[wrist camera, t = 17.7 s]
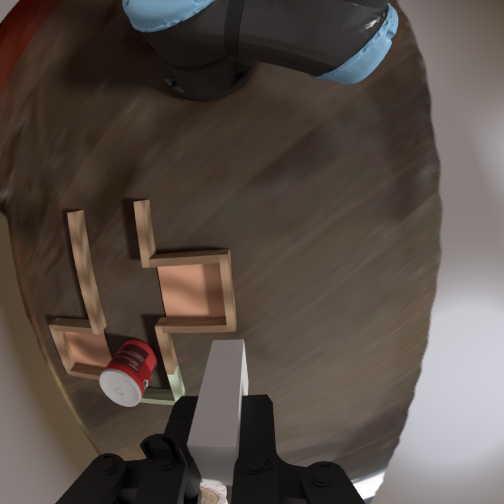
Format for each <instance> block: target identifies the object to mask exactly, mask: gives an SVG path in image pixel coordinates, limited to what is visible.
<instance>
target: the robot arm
mask: <svg viewBox="0 0 504 504" xmlns="http://www.w3.org/2000/svg"><path fill="white" fill-rule="evenodd" d="M388 2H389V0H122V4H123V9H124V11H125V13H126V14H127V16H128V17H129V19H130V22H131V24H132V26H133V27H134V28H135V29H136V30H137V31H138V32H139V33H140V34H141V35H142V36H143V38H144V39H145V40H146V41H147V42H148V43H149V45H150V46H151V47H152V48H153V49H154V50H155V52H156V53H157V54H158V55H159V69H160V73H161V76H162V78H163V80H164V81H165V83H166V84H167V85H168V86H169V87H170V88H171V89H172V90H173V91H174V92H175V93H176V94H178V95H180V96H182V97H184V98H187V99H190V100H195V101H210V100H216V99H220V98H223V97H225V96H228V95H230V94H232V93H234V92H235V91H237V90H238V89H239V88H241V87H242V86H243V85H244V84H245V83H246V82H247V81H248V79H249V78H250V77H251V75H252V73H253V71H254V68H255V64H256V61H260V62H264V63H269V64H273V65H277V66H281V67H285V68H289V69H293V70H297V71H300V72H304V73H307V74H309V75H310V76H311V77H313V78H320V79H322V78H323V79H327V80H330V81H333V82H337V83H340V84H352V83H357V82H359V81H361V80H363V79H364V78H366V77H367V76H368V75H369V74H370V73H371V72H372V71H373V70H374V69H375V68H376V67H377V66H378V65H379V63H380V62H381V61H382V59H383V58H384V56H385V55H386V53H387V51H388V50H389V48H390V46H391V43H392V42H391V38H392V37H393V36H394V35H395V34H396V30H397V26H398V15H397V13H396V11H395V9H394V8H393V7H392V6H391V5H390V4H389V3H388ZM140 447H141V449H142V450H143V452H144V454H145V456H146V457H147V458H146V459H142V460H133V461H124V460H123V459H122V458H121V457H120V456H118V455H116V454H112V453H106V454H102V455H99V456H98V457H97V458H96V459H94V460H93V461H92V463H91V464H90V465H89V466H88V467H87V468H86V469H85V471H84V472H83V473H82V474H81V475H80V476H79V477H78V479H77V480H76V481H75V482H74V483H73V484H72V485H71V486H70V488H69V489H68V490H67V491H66V492H65V493H64V494H63V496H62V497H61V498H60V499H59V500H58V501H57V502H56V503H55V504H201V499H202V492H201V490H200V482H201V479H202V481H203V483H204V484H214V485H232V498H231V504H365V502H364V501H363V499H362V498H361V496H360V495H359V493H358V492H357V490H356V489H355V487H354V486H353V484H352V482H351V481H350V479H349V478H348V476H347V475H346V473H345V471H344V470H343V469H342V468H341V467H340V466H339V465H337V464H335V463H333V462H326V461H322V462H316V463H314V464H312V465H310V466H308V467H301V466H295V465H291V464H288V463H286V462H284V461H283V460H282V459H280V458H279V456H278V455H277V452H276V444H275V429H274V415H273V402H272V401H271V400H270V398H269V397H268V395H267V394H266V395H248V375H247V366H246V357H245V347H244V339H241V340H213V343H212V347H211V350H210V354H209V358H208V362H207V366H206V370H205V374H204V378H203V382H202V386H201V390H200V394H199V396H181V397H180V398H179V399H178V400H177V401H176V402H175V403H174V406H173V409H172V411H171V414H170V417H169V421H168V423H167V426H166V429H165V432H164V434H154V435H151V436H148V437H147V438H146V439H144V440H143V441H142V443H141V444H140Z"/></svg>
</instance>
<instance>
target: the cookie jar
mask: <svg viewBox="0 0 504 504" xmlns="http://www.w3.org/2000/svg"><path fill="white" fill-rule="evenodd" d="M200 490H201V492H202V499H201V504H228V501H227V500H226V494H227V492H226V491H227V490H226V486H225V485H214V484H204V483H203V481H201V482H200Z"/></svg>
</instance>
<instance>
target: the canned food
mask: <svg viewBox="0 0 504 504" xmlns="http://www.w3.org/2000/svg"><path fill="white" fill-rule="evenodd" d="M156 368H157V355H156V353H155V351H154V350H153V348H152V347H151V346H150V345H148V344H147V343H145V342H144V341H141V340H138V339H132V340H129V341H127V342H125V343H124V344H123V345H122V347H121V348H120V349H119V350H118V352H117V353H116V354H115V356H114V357H113V358H112V360H111V361H110V362H109V364H108V365H107V366H106V367H105V369H104V370H103V372H102V373H101V375H100V378H99V382H100V386H101V388H102V390H103V391H104V393H105V394H106V395H107V396H108V397H109V398H110V399H111V400H113V401H114V402H116V403H118V404H120V405H123V406H127V407H132V406H135V405H137V404H138V403H139V401H140V400H141V398H142V396H143V394H144V392H145V390H146V388H147V386H148V384H149V382H150V380H151V378H152V376H153V374H154V372H155V370H156Z"/></svg>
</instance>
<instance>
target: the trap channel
mask: <svg viewBox="0 0 504 504" xmlns="http://www.w3.org/2000/svg"><path fill="white" fill-rule="evenodd" d="M134 209H135V218H136V226H137V234H138V241H139V248H140V254H141V260H142V266H143V268H147V267H157V268H158V274H159V280H160V285H161V291H162V296H163V302H164V307H165V312H166V317H161V318H160V319H159V321H158V322H157V324H156V325H155V330H156V334H157V339H158V342H159V346H160V350H161V354H162V358H163V361H164V365H165V369H166V372H167V376H168V379H169V382H170V386H171V389H172V390H171V389H156V388H146V390H145V392H144V394H143V396H142V398H141V400H140V401H139V402H145V403H154V404H166V405H174V403H175V402H176V401H177V400H178V399H179V398H180V397H181V396H186V393H185V389H184V385H183V382H182V378H181V374H180V370H179V366H178V362H177V358H176V354H175V350H174V346H173V342H172V337H171V333H206V332H235V331H236V323H237V319H236V310H235V300H234V291H233V281H232V271H231V260H230V250H229V249H220V250H206V251H192V252H178V253H164V254H156V250H155V243H154V235H153V228H152V219H151V210H150V201H149V200H143V201H136V202H134ZM67 215H68V222H69V230H70V236H71V243H72V248H73V254H74V259H75V264H76V269H77V274H78V278H79V283H80V287H81V291H82V295H83V299H84V303H85V307H86V310H87V314H88V317H89V320H87V319H69V318H56V319H55V320H54V321H53V322H51V323H50V324H49V328H50V331H51V333H52V336H53V339H54V342H55V344H56V347H57V350H58V352H59V355H60V357H61V360H62V362H63V364H64V367H65V369H66V371H67V373H68V375H73V376H78V377H84V378H89V379H95V380H99V378H100V375H101V373H102V372H103V370H104V369H105V367H106V366H107V365H108V364H109V362H110V361H111V360H112V356H111V353H110V350H109V347H108V344H107V341H106V338H105V334H104V331H103V329H104V328H105V327H106V326H107V325H106V321H105V318H104V314H103V310H102V307H101V303H100V299H99V295H98V290H97V286H96V282H95V277H94V272H93V267H92V262H91V257H90V251H89V245H88V239H87V233H86V226H85V218H84V210H80V211H75V212H70V213H67Z"/></svg>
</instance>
